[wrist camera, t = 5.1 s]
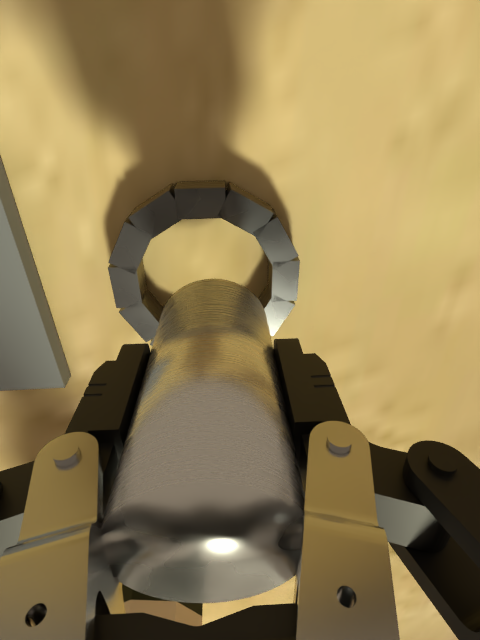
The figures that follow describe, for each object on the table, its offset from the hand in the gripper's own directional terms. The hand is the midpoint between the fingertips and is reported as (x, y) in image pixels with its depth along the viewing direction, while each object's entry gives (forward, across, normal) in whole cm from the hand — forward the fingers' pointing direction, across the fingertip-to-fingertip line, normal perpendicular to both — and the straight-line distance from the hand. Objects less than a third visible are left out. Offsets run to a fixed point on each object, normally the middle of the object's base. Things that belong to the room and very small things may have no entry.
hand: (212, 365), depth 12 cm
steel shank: (+2, 0, 0) cm, 2 cm away
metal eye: (+7, 0, 0) cm, 7 cm away
